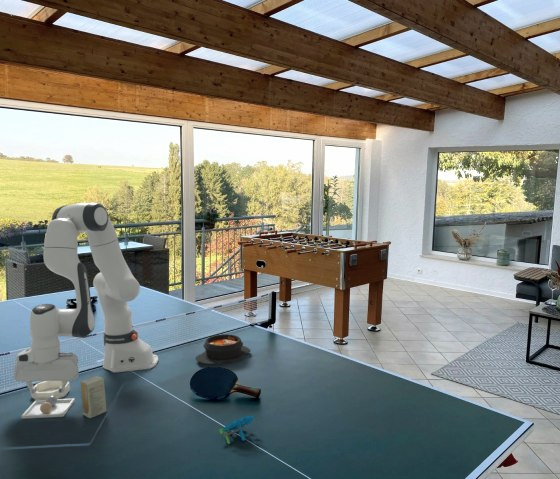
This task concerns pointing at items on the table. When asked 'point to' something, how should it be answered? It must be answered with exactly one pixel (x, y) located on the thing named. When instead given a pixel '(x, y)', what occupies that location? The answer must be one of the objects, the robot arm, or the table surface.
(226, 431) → the blue plastic piece
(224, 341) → the casserole
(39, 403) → the parts tray
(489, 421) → the table surface
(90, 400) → the skincare box
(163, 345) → the table surface
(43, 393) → the bowl
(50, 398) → the pebble slate
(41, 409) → the pebble sand
